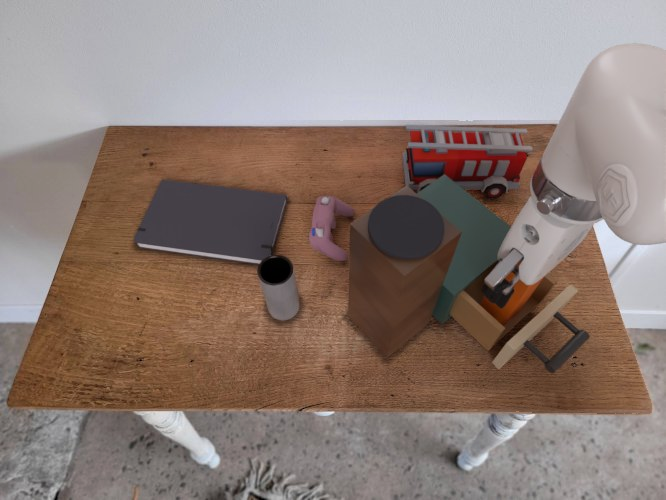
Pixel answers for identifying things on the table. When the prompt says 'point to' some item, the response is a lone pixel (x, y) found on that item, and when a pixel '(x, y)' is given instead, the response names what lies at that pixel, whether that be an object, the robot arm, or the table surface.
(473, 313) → the drawer
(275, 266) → the planter
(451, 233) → the stand
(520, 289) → the block
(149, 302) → the table surface
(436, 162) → the toy fire truck
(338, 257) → the video game controller
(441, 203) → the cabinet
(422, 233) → the coaster
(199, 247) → the notebook
